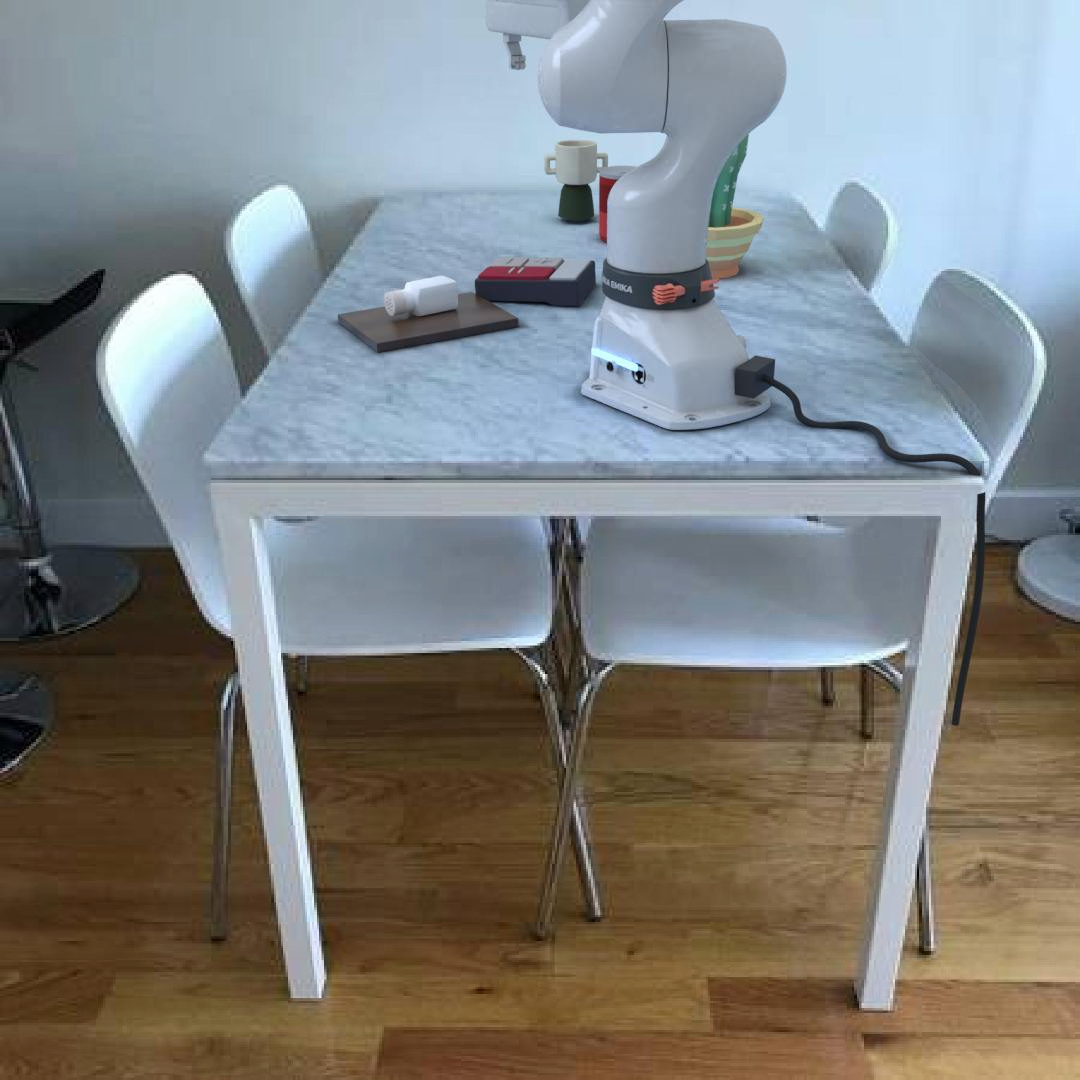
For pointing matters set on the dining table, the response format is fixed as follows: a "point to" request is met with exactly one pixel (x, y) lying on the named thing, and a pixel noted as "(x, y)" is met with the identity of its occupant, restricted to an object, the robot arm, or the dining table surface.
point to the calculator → (537, 280)
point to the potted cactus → (729, 220)
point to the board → (427, 324)
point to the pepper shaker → (423, 297)
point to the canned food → (606, 183)
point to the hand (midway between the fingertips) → (537, 72)
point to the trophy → (576, 176)
